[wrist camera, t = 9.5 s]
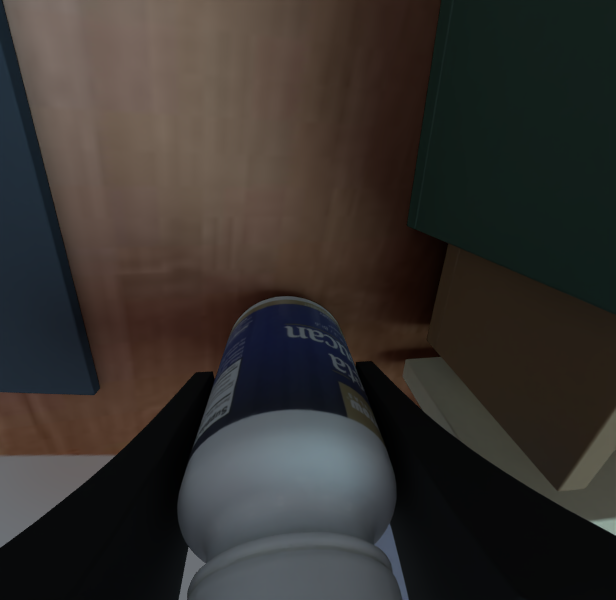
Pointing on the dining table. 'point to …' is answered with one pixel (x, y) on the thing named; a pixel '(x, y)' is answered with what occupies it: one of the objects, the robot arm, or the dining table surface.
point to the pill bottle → (288, 468)
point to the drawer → (524, 382)
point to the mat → (33, 259)
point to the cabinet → (524, 140)
